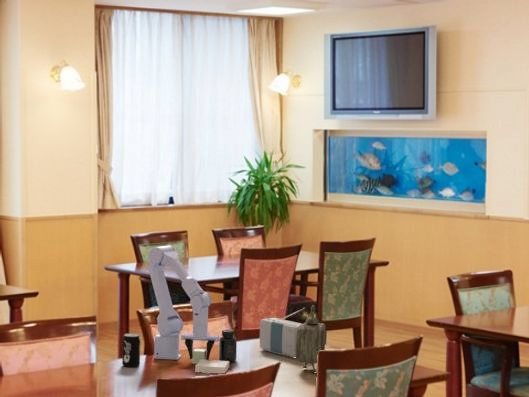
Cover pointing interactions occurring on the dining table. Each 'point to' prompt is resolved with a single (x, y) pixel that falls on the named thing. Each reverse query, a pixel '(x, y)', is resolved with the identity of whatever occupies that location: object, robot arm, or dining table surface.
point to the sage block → (199, 355)
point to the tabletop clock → (310, 340)
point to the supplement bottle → (227, 346)
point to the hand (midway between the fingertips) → (199, 359)
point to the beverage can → (131, 350)
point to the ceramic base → (212, 366)
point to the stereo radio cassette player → (279, 335)
